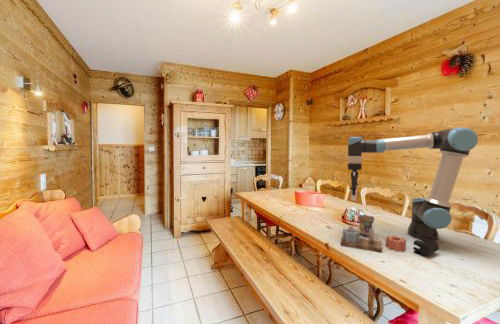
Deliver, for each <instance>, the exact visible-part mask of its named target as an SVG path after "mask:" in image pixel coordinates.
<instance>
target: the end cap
mask: <svg viewBox="0 0 500 324" xmlns="http://www.w3.org/2000/svg"><path fill="white" fill-rule="evenodd" d="M413 245H414V246H412V247H413V253H414V254H416V255H418V256H421V257H425V256H428V255H430V254H432V253H434V252H437V251H438V250H439V249H440V245H439V243H438V241H437V240H433V239H432V240H428V239H424V238H421V239H420V240H419V239H416V240H414V241H413ZM416 246H417V247H416ZM418 247H419V248H418Z"/></svg>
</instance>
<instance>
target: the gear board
mask: <svg viewBox="0 0 500 324" xmlns="http://www.w3.org/2000/svg"><path fill="white" fill-rule="evenodd" d="M348 228H349V232H351V233H353V229H354V226H352V225H350V226H348ZM374 233H375V231H374V229H373V228H372V229H369V236H368V238H361V237H360V242H359V243H358V242H355V243H352V242H346V241H345V240H342V237H341V239H340V246H342V247H347V248H354V249H360V250H364V251H365V250H366V251H371V252H378V253H383V247H382V241H380V240H375V239H374Z"/></svg>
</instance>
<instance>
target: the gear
mask: <svg viewBox="0 0 500 324" xmlns="http://www.w3.org/2000/svg"><path fill="white" fill-rule="evenodd" d="M360 235H361V234H360V232H359V230H356V229H355V228H353V233H351V232H349V227H348V228H347V227H346V228H343V229H342V235H341V238H342V240H345V241H346V242H352V243H355V242H358V243H359V242H360V238H361V236H360Z"/></svg>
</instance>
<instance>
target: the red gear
mask: <svg viewBox="0 0 500 324" xmlns="http://www.w3.org/2000/svg"><path fill="white" fill-rule="evenodd" d="M385 237H386V238H385V247H386V248H388V250H390V251H391V250H392V251H394V252H399V251H401V252H405V251H406V249H407V240H406V239H404V238H403V237H401V236H400V237H399V236H396V235H392V236H391V235H387V236H385Z"/></svg>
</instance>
